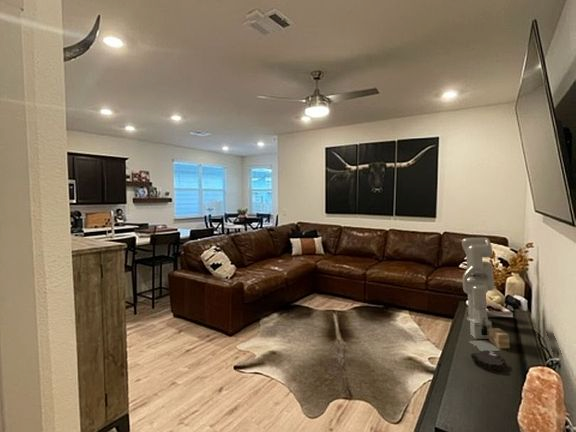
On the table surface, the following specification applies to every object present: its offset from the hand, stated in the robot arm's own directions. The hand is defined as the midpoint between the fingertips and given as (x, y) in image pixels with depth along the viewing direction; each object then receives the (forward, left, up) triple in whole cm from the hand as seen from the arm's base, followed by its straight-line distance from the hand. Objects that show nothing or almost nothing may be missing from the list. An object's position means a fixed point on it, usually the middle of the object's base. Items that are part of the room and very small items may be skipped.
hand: (481, 332), depth 206 cm
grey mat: (+13, -5, -3) cm, 14 cm away
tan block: (+12, +4, -3) cm, 13 cm away
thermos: (-43, +20, -3) cm, 48 cm away
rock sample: (+34, -15, -3) cm, 37 cm away
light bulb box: (0, 0, -3) cm, 3 cm away
